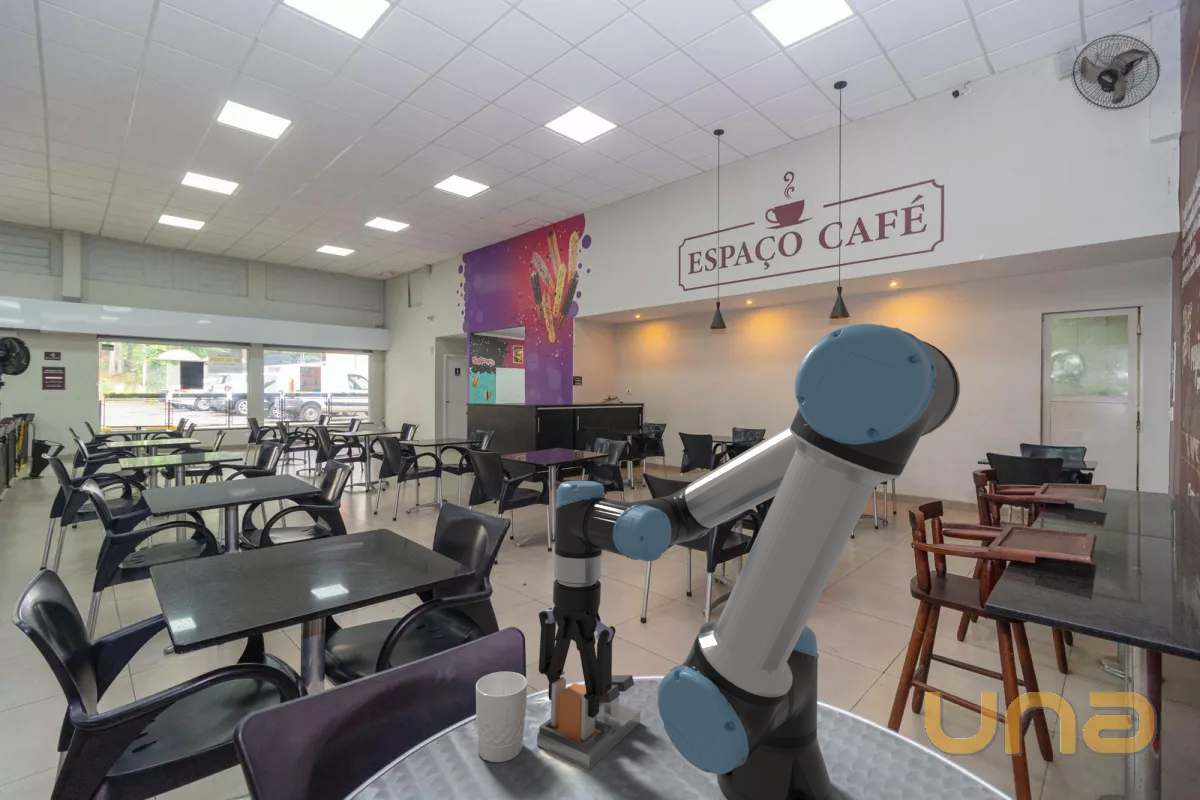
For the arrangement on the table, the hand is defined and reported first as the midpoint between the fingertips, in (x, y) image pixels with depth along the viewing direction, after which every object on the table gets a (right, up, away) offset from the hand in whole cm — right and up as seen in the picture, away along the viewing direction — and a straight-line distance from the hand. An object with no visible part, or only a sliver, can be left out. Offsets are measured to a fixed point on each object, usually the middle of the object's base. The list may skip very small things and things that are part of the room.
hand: (572, 728), depth 84 cm
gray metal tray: (+3, -3, +3) cm, 5 cm away
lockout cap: (+1, 0, 0) cm, 1 cm away
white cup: (-11, -2, -2) cm, 11 cm away
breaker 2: (+6, +2, +8) cm, 10 cm away
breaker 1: (+4, +2, +4) cm, 6 cm away
